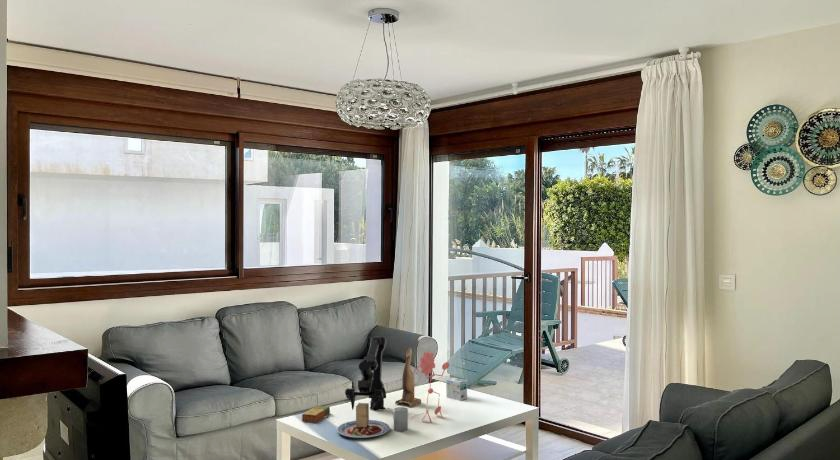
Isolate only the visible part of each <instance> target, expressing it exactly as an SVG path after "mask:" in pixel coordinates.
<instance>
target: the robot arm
mask: <svg viewBox="0 0 840 460" xmlns="http://www.w3.org/2000/svg"><path fill="white" fill-rule="evenodd" d="M369 338H370V341H369V344H370V345H369V349H368V352H367V355H366V356H364V357H363V360H362V361H361V362H360V363H359V364H358V370H359V372H360V375H361V379H359V380H357V390H358V391H355V388H346V389H345V392H344V394H345V397H346V399H348V400H349V401H350V405H351V410H352V411H353V410H354V409H355V400H356V399H355V398H356V397H358V396H361V397H368V399H370V405H369V406H370V407H369V411H375V412H376V411H382V410H386V407H385V406H384V405H385V403H384V402H385V401H384V400H385V399H386V398H387V392H386V388H385V386H384V385H385V384H384V382H383V381H382V373H383V372H382V367H383V365H382V364H383V353H384V351H385V349H386V348H387V347H386V346H387V343H388V341H387V340H388V339H387V338H386V337H385V336H382V335H381V336H378V335H377V336H375V335H374V336H372V337H369Z"/></svg>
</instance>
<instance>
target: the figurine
mask: <svg viewBox="0 0 840 460" xmlns="http://www.w3.org/2000/svg"><path fill="white" fill-rule="evenodd" d="M434 354H435V353H434V352H430V351H429V350H428V351H426V352H423V354H422V357H420V358H419V361H420V364H419V365H418V366H417V367H416V368H415V369H414V370H413V371H412V372H413V373H412V374H414V373H415V372H416V371H417V370H418V369H419V368H421V369H420V373H421V374H424V376H425V377H426V379H429V389H427V397H426V405H428V401H429V394H430V395H431V394H433V393H435V394H437V395H438V396H440V395H441V394H440V393H439V392H436V391H434V389H433V388H431V386H432V385H431V383H432V379H433V378H434V377H435V376H436V377H437V376H438V377H443V376H444V373H445V370H448V369H449V367H450V363H449V362H448V361H446V362H444V363H443V364H442V366H441V368H442V370H443V371H442V373H441V374H436V373H434V370H433V369H436V363H435V358H434ZM412 374H411V375H412ZM429 374H430V375H429ZM428 375H429V376H428ZM437 401H438V403H437V407H436V408H435V410H434V415H435V416H438V414H440V416H441V419H444V417H443V415H442V411H441V409H442V407H441V406H440V399H438V400H437ZM429 411H430V410H428V409H427V410H426V411H425V412H423V413H422V414H425V415H424V416H423V418H422V419H421V421H423V420H424V419H425V418H426V416H427V415H428V416H427V417H428V419H429V421H430V423H433V421H432V420H431V416H430V414H429ZM418 415H420V414H415V415H413V416H412V418H414V417H416V416H418Z"/></svg>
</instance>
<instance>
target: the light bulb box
mask: <svg viewBox="0 0 840 460" xmlns="http://www.w3.org/2000/svg"><path fill="white" fill-rule="evenodd" d="M445 383H446V385H445V386H446V395H445V396H446V398H447V399H451V400H456V401H460V402H461V401H463V400H467V399H468V380H467V379H461V378H457V377H450V378H447V379H446V381H445Z"/></svg>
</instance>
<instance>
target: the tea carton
mask: <svg viewBox="0 0 840 460" xmlns="http://www.w3.org/2000/svg"><path fill="white" fill-rule="evenodd" d="M369 406H370V405H369V403H368V402H367V403H366V402H365V403H364V402H358V403H357V404H356V405H355V420H356V427H367V425H368V424H369V420H370V412H369V411H370V407H369Z"/></svg>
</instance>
